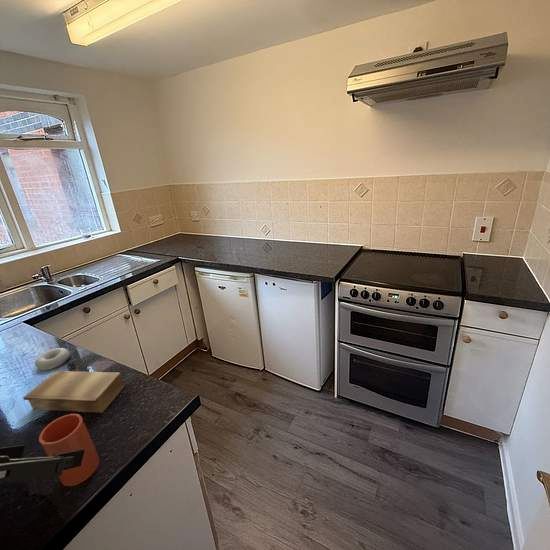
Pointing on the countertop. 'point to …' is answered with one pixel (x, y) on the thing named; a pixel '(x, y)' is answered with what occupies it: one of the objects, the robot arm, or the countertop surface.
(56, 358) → the donut
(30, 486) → the countertop surface
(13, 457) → the robot arm
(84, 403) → the wooden block
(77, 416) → the cup
